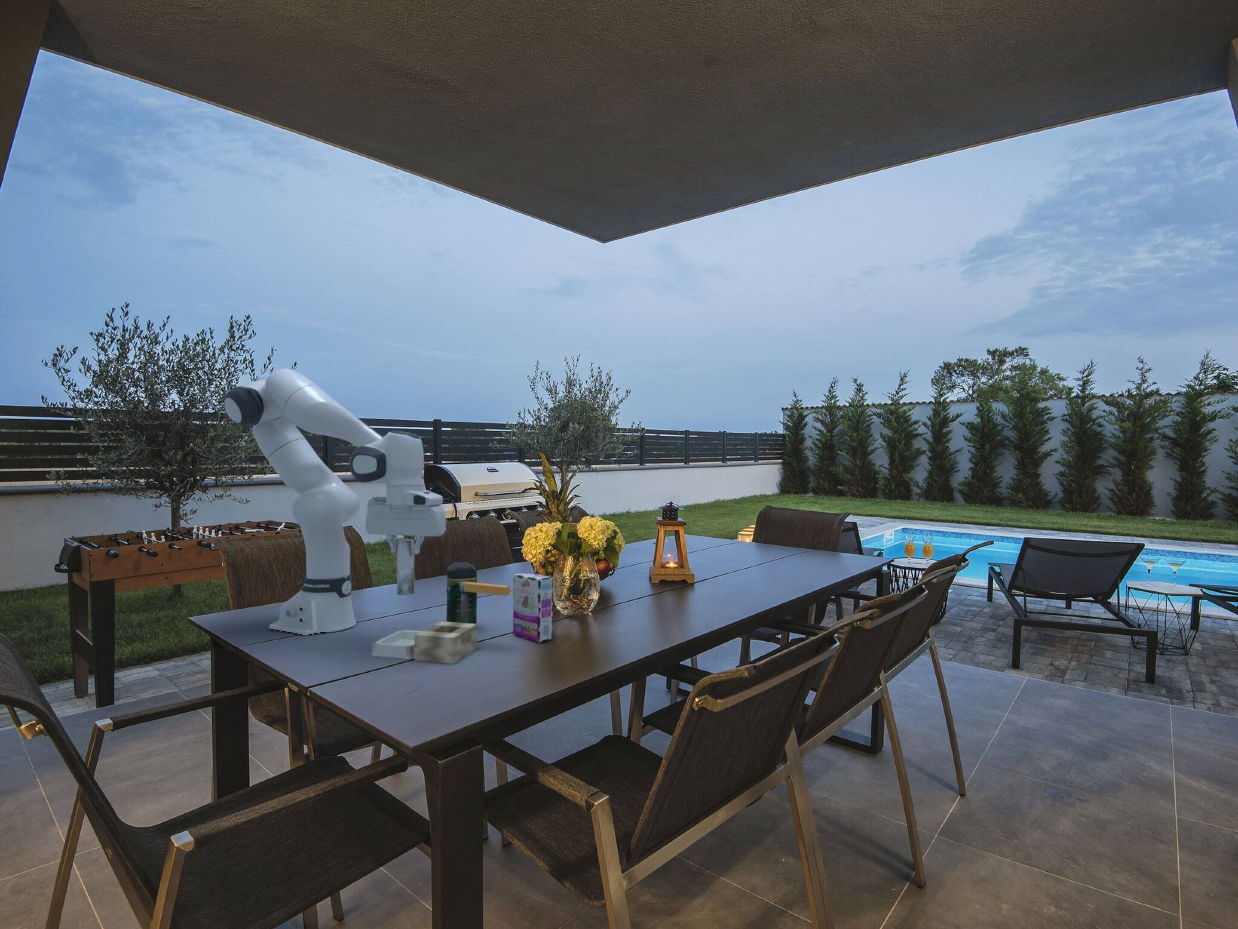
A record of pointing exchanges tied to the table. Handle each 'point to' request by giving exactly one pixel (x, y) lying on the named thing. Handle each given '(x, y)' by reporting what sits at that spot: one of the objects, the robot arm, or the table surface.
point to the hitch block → (447, 639)
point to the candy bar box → (533, 607)
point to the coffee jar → (454, 577)
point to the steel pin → (405, 567)
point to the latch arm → (485, 588)
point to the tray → (396, 645)
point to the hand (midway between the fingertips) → (405, 553)
